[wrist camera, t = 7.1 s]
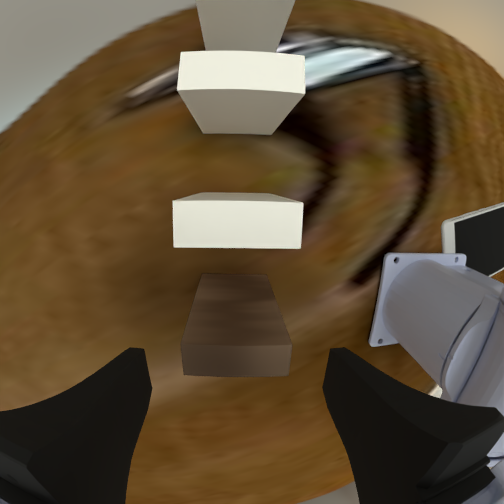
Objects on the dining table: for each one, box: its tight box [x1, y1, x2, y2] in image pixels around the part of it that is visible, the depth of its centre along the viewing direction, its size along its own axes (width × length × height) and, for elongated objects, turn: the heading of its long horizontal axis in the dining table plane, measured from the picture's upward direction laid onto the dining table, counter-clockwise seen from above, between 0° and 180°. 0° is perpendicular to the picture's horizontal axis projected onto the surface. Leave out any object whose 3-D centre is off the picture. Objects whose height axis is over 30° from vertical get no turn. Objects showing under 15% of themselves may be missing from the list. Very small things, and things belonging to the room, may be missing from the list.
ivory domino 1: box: [196, 0, 295, 53], centre depth 11 cm, size 4×2×9 cm, turn 89°
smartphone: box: [441, 202, 504, 277], centre depth 21 cm, size 8×1×15 cm
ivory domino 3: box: [173, 192, 303, 249], centre depth 14 cm, size 4×2×9 cm, turn 89°
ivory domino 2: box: [177, 51, 305, 135], centre depth 13 cm, size 4×2×9 cm, turn 88°
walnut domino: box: [181, 273, 292, 377], centre depth 15 cm, size 4×2×9 cm, turn 88°
